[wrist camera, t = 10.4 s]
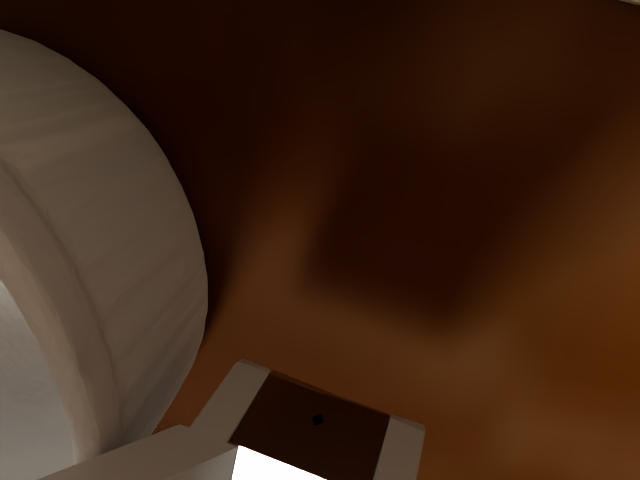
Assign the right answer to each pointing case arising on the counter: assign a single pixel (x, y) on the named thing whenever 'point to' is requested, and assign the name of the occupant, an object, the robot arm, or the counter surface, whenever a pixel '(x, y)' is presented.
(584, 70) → the counter surface
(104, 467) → the robot arm
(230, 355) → the counter surface
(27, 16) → the counter surface
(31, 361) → the ramekin
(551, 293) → the counter surface
